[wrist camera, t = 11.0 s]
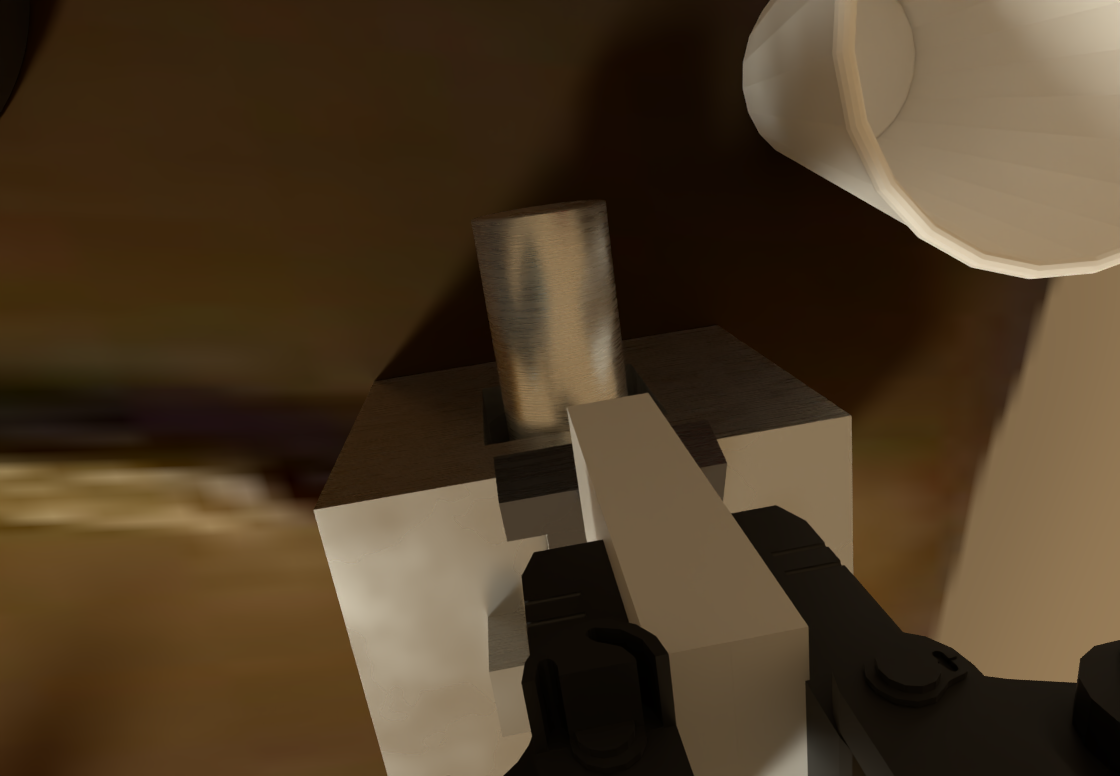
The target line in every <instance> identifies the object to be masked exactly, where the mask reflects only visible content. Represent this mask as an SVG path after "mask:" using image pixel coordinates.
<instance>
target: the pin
mask: <svg viewBox="0 0 1120 776" xmlns="http://www.w3.org/2000/svg"><path fill="white" fill-rule="evenodd" d="M471 222H472V228H473V234H474V239H475V245H476V251H477V256H478V262H479V268H480V273H481V279H482V285H483V291H484V296H485V302H486V308H487V313H488V319H489V325H490V330H491V336H492V342H493V348H494V353H495V359H496V365H497V370H498V376H499V382H500V387H501V393H502V399H503V404H504V410H505V416H506V422H507V427H508V433H509V439H510V441H514V440H520V439H526V438H531V437H537V436H543V435H549V434H555V433H560V432H566V431H570V426H569V419H568V412H567V407H568V406H574V405H580V404H586V403H592V402H597V401H603V400H609V399H615V398H621V397H627V396H628V391H627V382H626V373H625V365H624V356H623V347H622V339H621V330H620V322H619V313H618V304H617V296H616V287H615V278H614V270H613V261H612V253H611V244H610V235H609V227H608V218H607V210H606V201H605V200H582V201H571V202H562V203H554V204H547V205H540V206H533V207H526V208H520V209H515V210H509V211H504V212H499V213H494V214H489V215H485V216H481V217H478V218H475V219H472V220H471Z"/></svg>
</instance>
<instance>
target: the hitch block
mask: <svg viewBox="0 0 1120 776" xmlns="http://www.w3.org/2000/svg"><path fill="white" fill-rule="evenodd" d="M622 347H623V356H624V365H625V373H626V382H627V391H628V396H632V395H638V394H644V393H649V395H650V396H651V397H652V399H653V400H654V402H655V403H656V405H657V406H658V408H659V409H660V411H661V412H662V414H663V415H664V416H665V418H666V419H667V421H668V422H669V424H670V425H671V426H675V425H681V424H686V423H692V422H698V421H704V420H708V421H709V424H710V426H711V428H712V430H713V432H714V435H715V437H716V439H717V441H718V443H719V446H720V448H721V450H722V452H723V455H724V457H725V459H726V461H727V470H726V479H725V488H724V497H723V503H724V504H725V506H726V507H727V508H728V510H729V511H730V513H736V512H741V511H747V510H752V509H758V508H763V507H768V506H774V505H777V506H779V507H781V508H783V509H785V510H787V511H789V512H790V513H792V514H794V515H796V516H798V517H800V518H802V519H804V520H806V521H807V522H808V524H809V525H810V526H811V527H812V528H813V529H814V530H815V532H816V533H817V534H818V535H819V536H820V537H821V539H822V540H823V541H824V542H825V546H826V547H829V548H830V549H831V550H832V551H833V552H834V553H835V555H836V556H837V557H838V558H839V559H840V561H841V565H845V566H846V567H847V568H848V570H849V571H850V572H851V573H852V574H853V512H852V417H851V415H850V414H848V413H847V412H845V411H844V410H842V409H841V408H840V407H838V406H837V405H835V404H834V403H832V402H831V401H829V400H828V399H826V398H825V397H823V396H822V395H820V394H819V393H817V392H816V391H814V390H813V389H811V388H810V387H808V386H807V385H805V384H804V383H803V382H801V381H800V380H798V379H797V378H795V377H794V376H792V375H791V374H789V373H788V372H786V371H785V370H783V369H782V368H780V367H779V366H777V365H776V364H774V363H773V362H771V361H770V360H769V359H767V358H766V357H764V356H763V355H761V354H760V353H758V352H757V351H755V350H754V349H752V348H751V347H749V346H748V345H746V344H745V343H743V342H742V341H740V340H739V339H737V338H736V337H734V336H733V335H732V334H730V333H729V332H727V331H726V330H724V329H723V328H721V327H720V326H718V325H713V326H707V327H701V328H695V329H688V330H682V331H676V332H670V333H664V334H658V335H652V336H646V337H640V338H634V339H628V340H622ZM571 443H572V440H571V433H570V431H566V432H560V433H555V434H549V435H543V436H537V437H531V438H526V439H520V440H514V441H510V439H509V433H508V427H507V422H506V416H505V410H504V404H503V399H502V393H501V387H500V382H499V376H498V370H497V365H496V361H495V362H489V363H483V364H477V365H471V366H465V367H459V368H453V369H446V370H440V371H434V372H428V373H422V374H416V375H410V376H404V377H398V378H392V379H386V380H380V381H374V383H373V385H372V387H371V389H370V392H369V394H368V396H367V398H366V400H365V402H364V404H363V406H362V409H361V411H360V413H359V415H358V417H357V419H356V421H355V423H354V425H353V428H352V430H351V432H350V434H349V436H348V438H347V440H346V442H345V444H344V447H343V449H342V451H341V453H340V455H339V457H338V459H337V461H336V464H335V466H334V468H333V470H332V472H331V474H330V476H329V478H328V480H327V483H326V485H325V487H324V489H323V491H322V493H321V495H320V497H319V500H318V502H317V504H316V506H315V508H314V513H315V517H316V521H317V524H318V528H319V531H320V535H321V538H322V542H323V546H324V549H325V553H326V556H327V560H328V563H329V567H330V571H331V574H332V578H333V581H334V585H335V588H336V592H337V596H338V599H339V603H340V606H341V610H342V613H343V617H344V621H345V624H346V628H347V631H348V635H349V639H350V642H351V646H352V649H353V653H354V656H355V660H356V664H357V667H358V671H359V674H360V678H361V681H362V685H363V689H364V692H365V696H366V699H367V703H368V706H369V710H370V714H371V717H372V721H373V724H374V728H375V731H376V735H377V739H378V742H379V746H380V749H381V753H382V756H383V760H384V764H385V767H386V771H387V774H388V776H503V775H504V774H505V773H506V772H508V771H509V770H510V769H511V768H512V767H513V766H514V765H515V764H516V763H517V762H518V761H519V759H520V758H521V756H522V754H523V753H524V751H525V750H526V748H527V747H528V745H529V743H530V740H531V737H532V734H531V729H530V724H529V719H528V714H527V709H526V704H525V699H524V694H523V689H522V684H521V681H522V676H523V670H524V664H525V661H526V660H527V658H528V657H529V656H530V654H529V644H528V635H527V624H526V615H525V604H524V596H523V586H522V577H521V576H522V574H523V572H524V570H525V568H526V566H527V564H528V562H529V560H530V559H531V557H532V555H533V553H534V552H537V551H543V550H548V549H549V548H548V542H547V535H542V536H537V537H531V538H526V539H520V540H515V541H509V542H507V538H506V534H505V529H504V525H503V520H502V516H501V511H500V507H499V501H498V493H497V485H496V476H495V468H494V459H493V457H496V456H502V455H508V454H514V453H519V452H525V451H531V450H537V449H543V448H548V447H554V446H560V445H566V444H571Z"/></svg>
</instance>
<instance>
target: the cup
mask: <svg viewBox="0 0 1120 776" xmlns="http://www.w3.org/2000/svg"><path fill="white" fill-rule="evenodd" d="M743 92H744V96H745V101H746V105H747V109H748V113H749V115H750V117H751V119H752V121H753V123H754V124H755V126H756V128H757V130H758V132H759V134H760V135H761V136H762V137H763V138H764V139H765V140H766V141H767V142H768V143H769V144H770V145H771V146H772V147H773V148H774V149H775V150H776V151H778V152H780V153H781V154H783V155H785V156H787V157H788V158H790V159H792V160H794V161H795V162H797V163H799V164H801V165H802V166H804V167H806V168H807V169H809V170H811V171H813V172H814V173H816V174H818V175H820V176H821V177H823V178H825V179H827V180H828V181H830V182H832V183H834V184H835V185H837V186H839V187H841V188H842V189H844V190H846V191H848V192H849V193H851V194H853V195H855V196H856V197H858V198H860V199H861V200H863V201H865V202H867V203H868V204H870V205H872V206H874V207H875V208H877V209H879V210H881V211H882V212H884V213H886V214H888V215H889V216H891V217H893V218H895V219H896V220H898V221H900V222H902V223H903V224H905V225H907V226H908V227H909V228H910V229H911V230H912V232H913V233H914V234H915V235H916V236H917V237H918V238H920V239H922V240H924V241H925V242H927V243H929V244H931V245H932V246H934V247H936V248H938V249H940V250H941V251H943V252H945V253H947V254H948V255H950V256H952V257H954V258H956V259H957V260H959V261H961V262H963V263H964V264H966V265H968V266H970V267H972V268H977V269H982V270H987V271H992V272H997V273H1002V274H1007V275H1012V276H1017V277H1021V278H1026V279H1035V278H1046V277H1057V276H1067V275H1079V274H1090V273H1096V272H1099V271H1101V270H1104V269H1107V268H1109V267H1112V266H1115V265H1118V264H1120V0H770V1H769V2H768V4H767V5H766V6H765V8H764V9H763V11H762V12H761V14H760V16H759V18H758V20H757V22H756V24H755V26H754V28H753V30H752V32H751V34H750V36H749V40H748V44H747V48H746V52H745V56H744V60H743Z"/></svg>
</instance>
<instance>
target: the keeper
mask: <svg viewBox="0 0 1120 776" xmlns="http://www.w3.org/2000/svg"><path fill="white" fill-rule="evenodd" d="M671 427H672V428H673V430H674V431H675V433H676V434H677V435H678V437H679V438H680V440H681V441H682V443H683V444H684V446H685V447H686V449H687V450H688V452H689V453H690V454H691V456H692V457H693V459H694V460H695V462H696V463H697V465H698V466H699V468H700V469H701V471H702V472H703V473H704V475H705V476H706V478H707V479H708V481H709V482H710V484H711V485H712V487H713V488H714V489H715V491H716V492H717V494H718V495H719V497H720V498H721V500H722V501H723V497H724V488H725V479H726V470H727V461H726V459H725V457H724V455H723V452H722V450H721V448H720V446H719V443H718V441H717V439H716V437H715V435H714V432H713V430H712V428H711V426H710V424H709V421H708V420H704V421H698V422H692V423H686V424H681V425H675V426H671ZM493 459H494V468H495V476H496V485H497V493H498V501H499V507H500V511H501V516H502V520H503V525H504V529H505V534H506V538H507V542H509V541H515V540H520V539H526V538H531V537H537V536H542V535H547V542H548V548H549V549H554V548H559V547H565V546H570V545H575V544H581V543H586V542H587V539H586V534H585V528H584V521H583V514H582V507H581V501H580V494H579V487H578V480H577V473H576V467H575V460H574V453H573V446H572V443H571V444H566V445H560V446H554V447H548V448H543V449H537V450H531V451H525V452H519V453H514V454H508V455H502V456H496V457H493Z"/></svg>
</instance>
